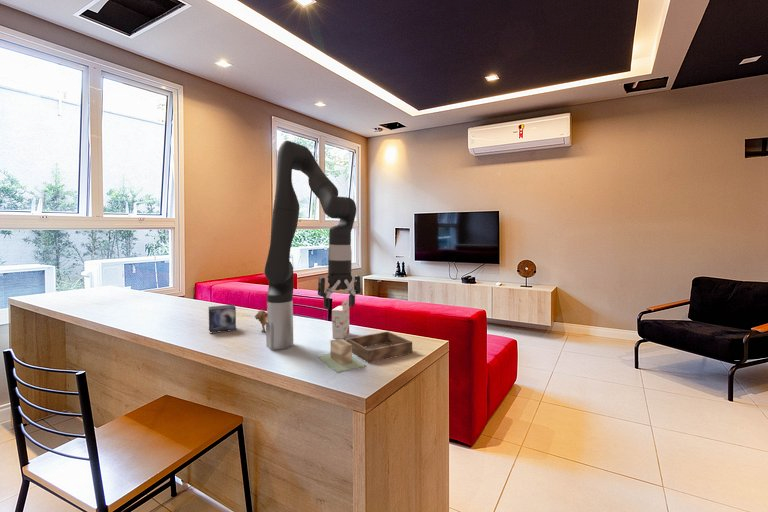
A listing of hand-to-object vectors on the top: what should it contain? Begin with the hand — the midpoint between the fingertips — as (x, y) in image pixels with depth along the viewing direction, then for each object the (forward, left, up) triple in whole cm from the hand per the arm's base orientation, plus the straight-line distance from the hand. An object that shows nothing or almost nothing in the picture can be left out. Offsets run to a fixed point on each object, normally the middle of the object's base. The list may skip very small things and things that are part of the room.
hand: (339, 307), depth 120 cm
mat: (0, 0, -18) cm, 18 cm away
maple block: (0, 0, -18) cm, 18 cm away
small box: (-27, +62, -18) cm, 70 cm away
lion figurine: (-11, +49, -18) cm, 53 cm away
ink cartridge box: (+13, +27, -18) cm, 35 cm away
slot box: (+16, +2, -18) cm, 25 cm away
